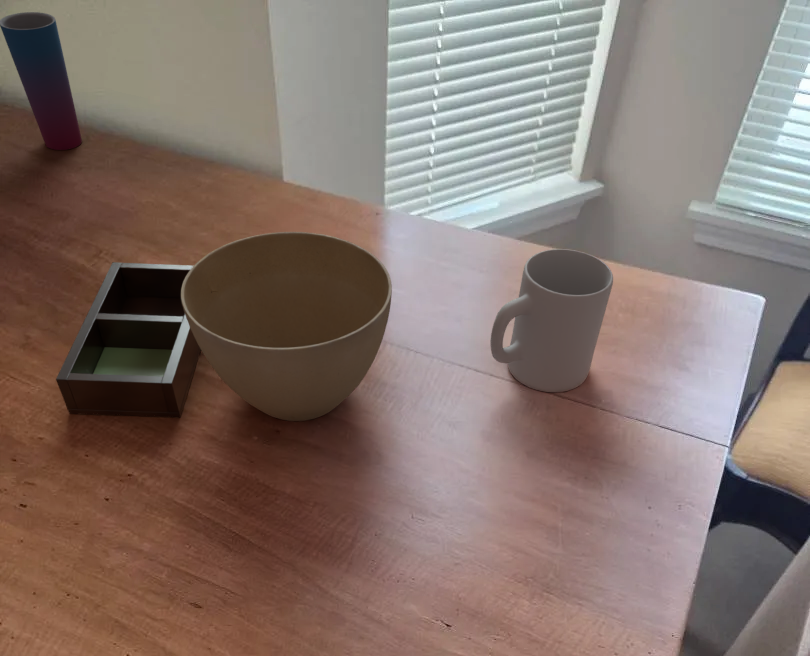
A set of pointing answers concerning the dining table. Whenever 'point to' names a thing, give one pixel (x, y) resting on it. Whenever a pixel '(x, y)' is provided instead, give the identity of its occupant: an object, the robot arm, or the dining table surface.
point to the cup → (43, 76)
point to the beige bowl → (289, 319)
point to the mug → (554, 320)
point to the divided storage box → (132, 346)
